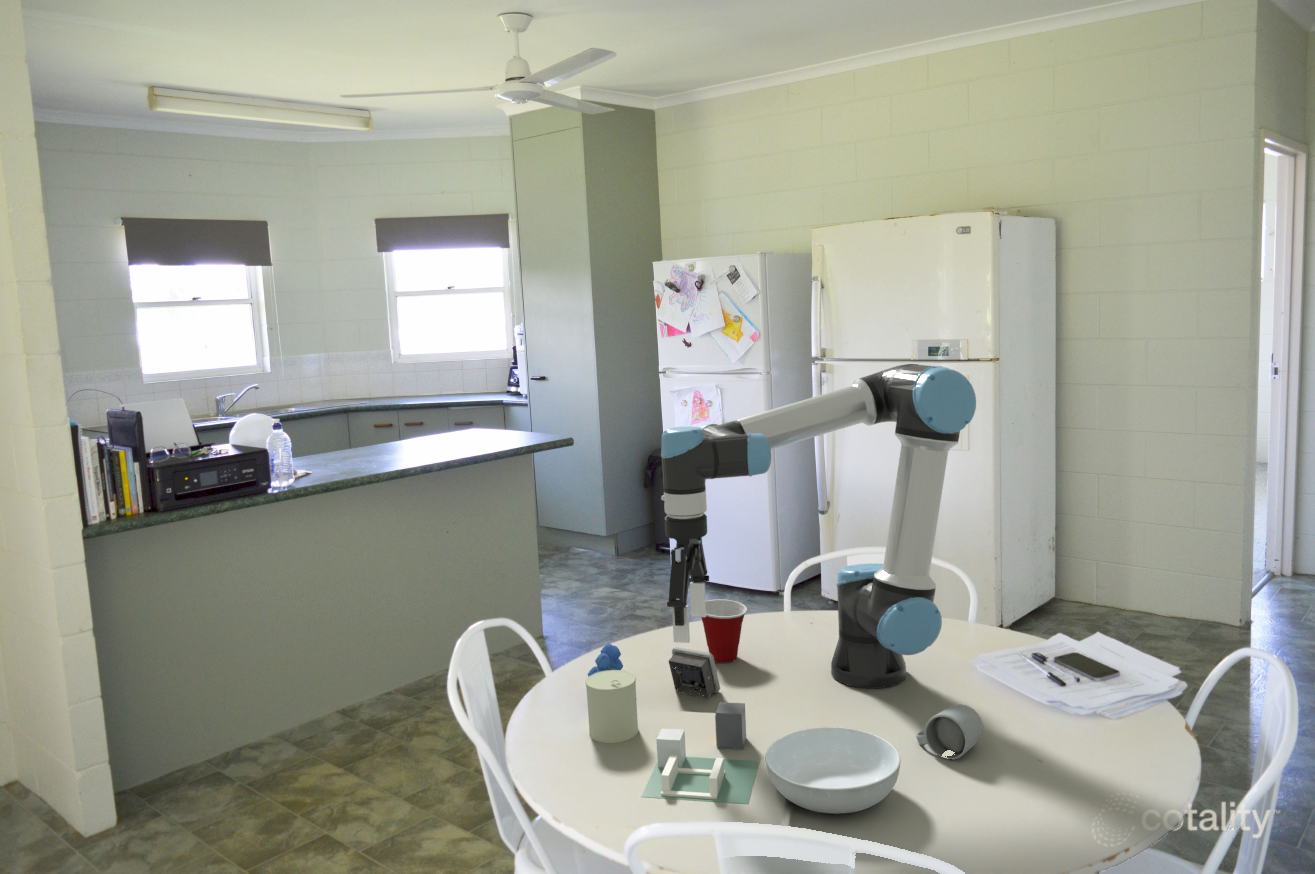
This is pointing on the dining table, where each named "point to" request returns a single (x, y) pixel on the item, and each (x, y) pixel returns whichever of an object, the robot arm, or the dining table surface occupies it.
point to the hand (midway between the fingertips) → (690, 628)
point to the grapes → (607, 660)
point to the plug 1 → (671, 746)
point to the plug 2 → (730, 726)
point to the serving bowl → (833, 768)
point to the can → (612, 706)
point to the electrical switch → (694, 672)
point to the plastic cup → (723, 628)
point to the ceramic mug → (952, 731)
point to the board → (703, 780)
